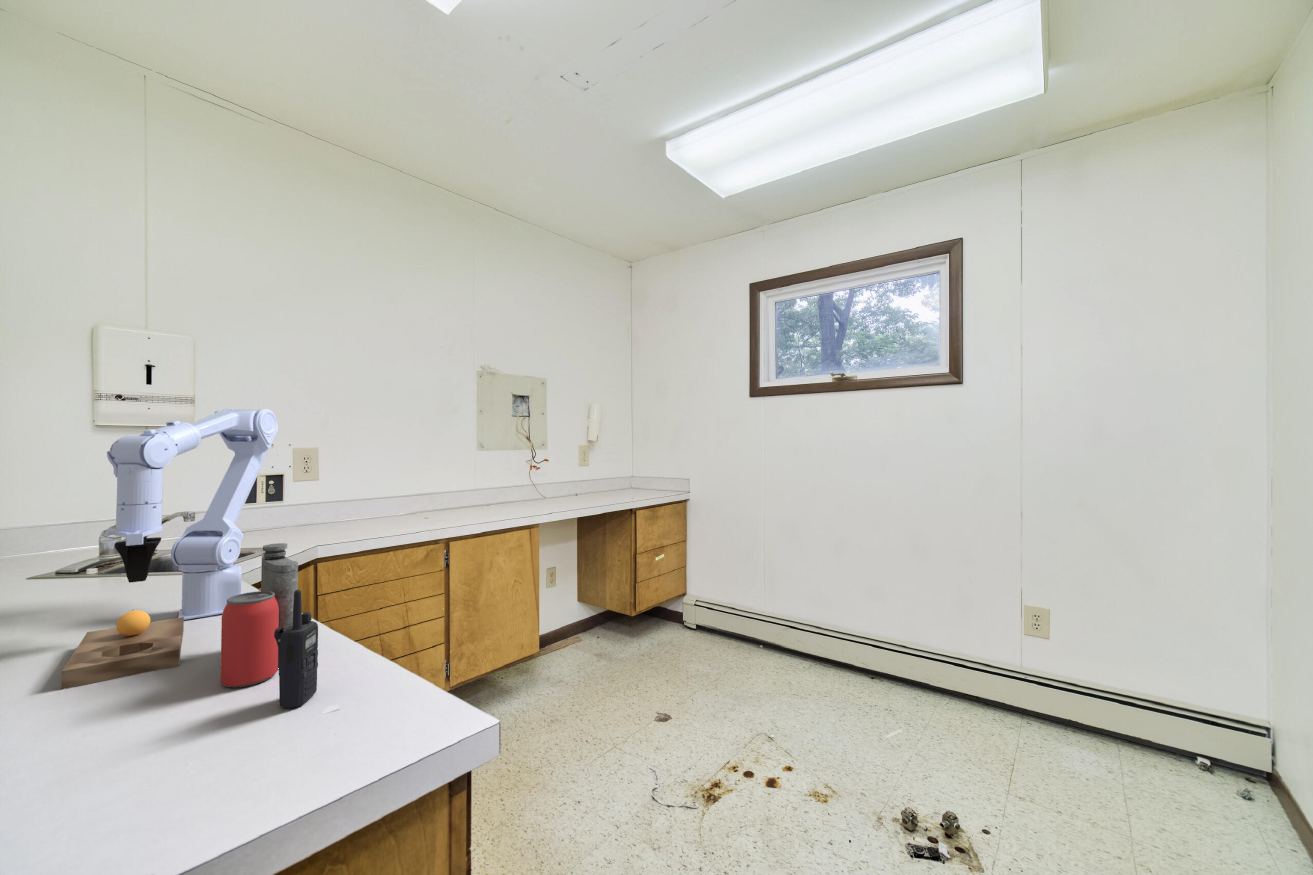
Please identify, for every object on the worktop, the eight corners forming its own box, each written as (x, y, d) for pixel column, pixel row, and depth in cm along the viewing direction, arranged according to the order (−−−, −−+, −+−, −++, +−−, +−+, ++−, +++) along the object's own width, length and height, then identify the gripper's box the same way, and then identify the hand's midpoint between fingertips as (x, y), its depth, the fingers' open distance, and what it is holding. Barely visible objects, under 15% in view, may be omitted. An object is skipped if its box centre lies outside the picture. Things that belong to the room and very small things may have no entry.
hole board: (183, 630, 95) (183, 616, 95) (178, 665, 80) (179, 649, 80) (86, 646, 87) (87, 632, 87) (61, 689, 72) (61, 671, 72)
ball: (151, 629, 88) (151, 605, 88) (149, 635, 85) (149, 611, 85) (117, 634, 86) (118, 610, 86) (114, 641, 83) (114, 616, 83)
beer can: (287, 674, 77) (289, 593, 77) (236, 693, 71) (237, 605, 71) (261, 666, 79) (263, 587, 80) (210, 684, 73) (211, 599, 74)
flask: (269, 672, 77) (271, 551, 78) (253, 646, 87) (255, 539, 88) (298, 665, 80) (300, 548, 80) (280, 640, 90) (281, 537, 90)
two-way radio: (300, 710, 66) (302, 592, 67) (262, 712, 66) (264, 594, 66) (321, 690, 72) (323, 581, 72) (286, 692, 71) (288, 582, 71)
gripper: (112, 501, 94) (110, 576, 94) (100, 508, 83) (97, 593, 83) (166, 499, 99) (164, 571, 98) (160, 505, 88) (158, 586, 87)
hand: (137, 581), depth 91 cm, fingers closed
